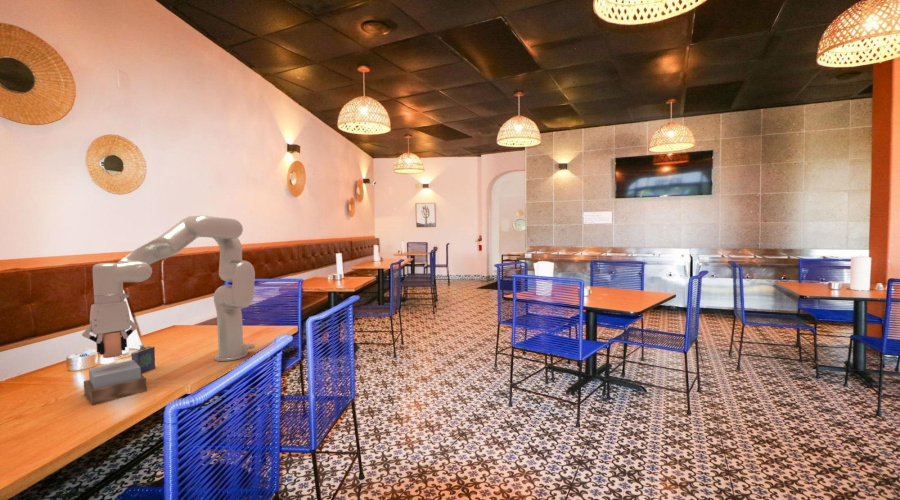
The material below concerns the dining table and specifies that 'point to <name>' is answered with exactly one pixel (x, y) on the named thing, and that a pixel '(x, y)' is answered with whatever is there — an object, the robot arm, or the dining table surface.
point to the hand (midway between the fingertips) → (112, 351)
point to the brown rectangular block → (112, 344)
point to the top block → (114, 374)
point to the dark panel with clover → (144, 358)
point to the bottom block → (114, 390)
